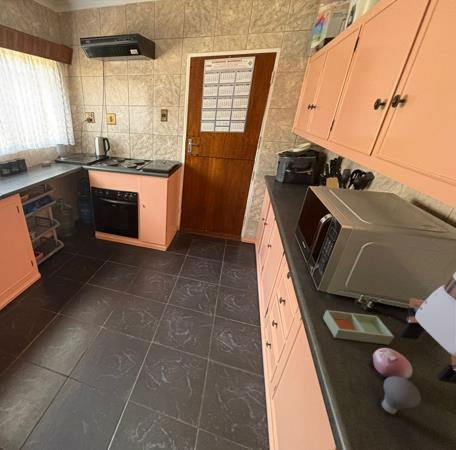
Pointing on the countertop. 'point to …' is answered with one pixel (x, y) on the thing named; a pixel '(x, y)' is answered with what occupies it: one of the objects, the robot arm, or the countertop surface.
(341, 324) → the tray
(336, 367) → the countertop surface
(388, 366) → the onion
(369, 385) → the countertop surface
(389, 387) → the light bulb
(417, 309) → the robot arm
